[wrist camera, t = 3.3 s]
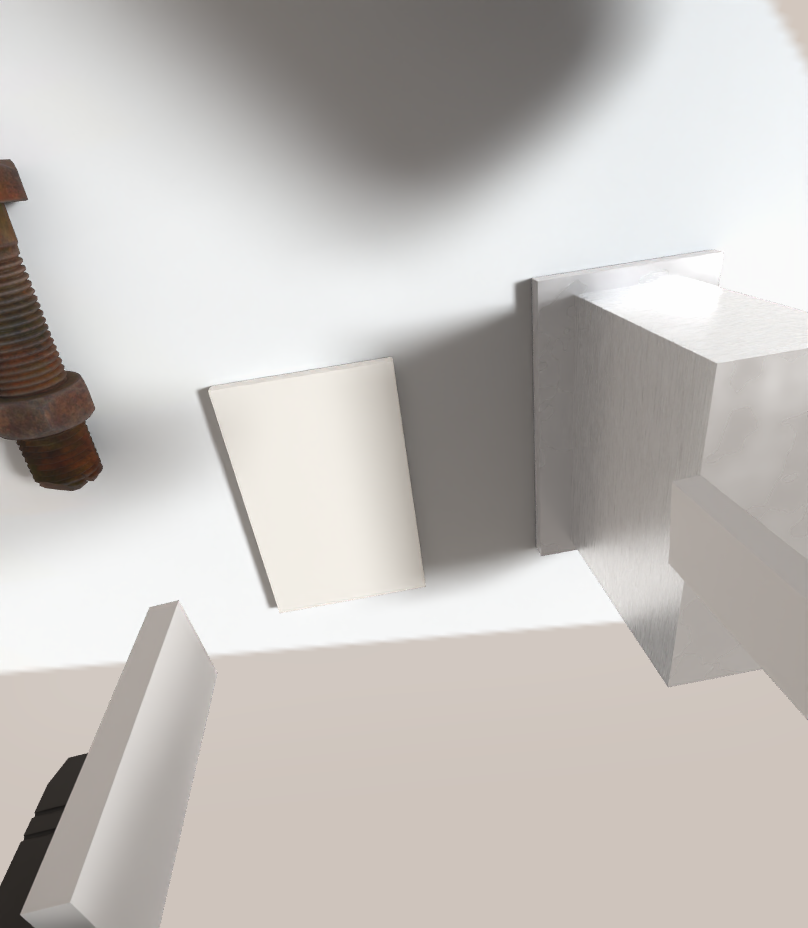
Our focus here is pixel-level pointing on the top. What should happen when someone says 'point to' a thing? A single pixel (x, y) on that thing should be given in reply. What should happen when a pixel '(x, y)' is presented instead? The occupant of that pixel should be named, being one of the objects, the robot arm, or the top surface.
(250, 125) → the top surface
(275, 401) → the mat
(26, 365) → the bolt
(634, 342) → the block
